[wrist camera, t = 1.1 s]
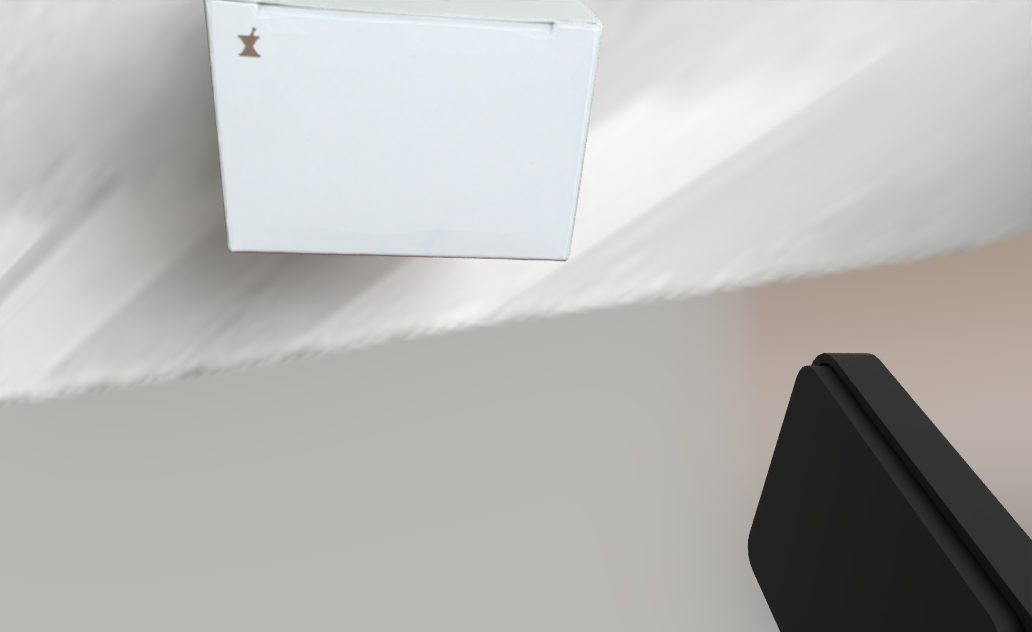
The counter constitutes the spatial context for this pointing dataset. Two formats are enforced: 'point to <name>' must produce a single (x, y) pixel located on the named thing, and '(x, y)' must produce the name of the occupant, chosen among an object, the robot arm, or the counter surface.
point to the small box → (402, 125)
